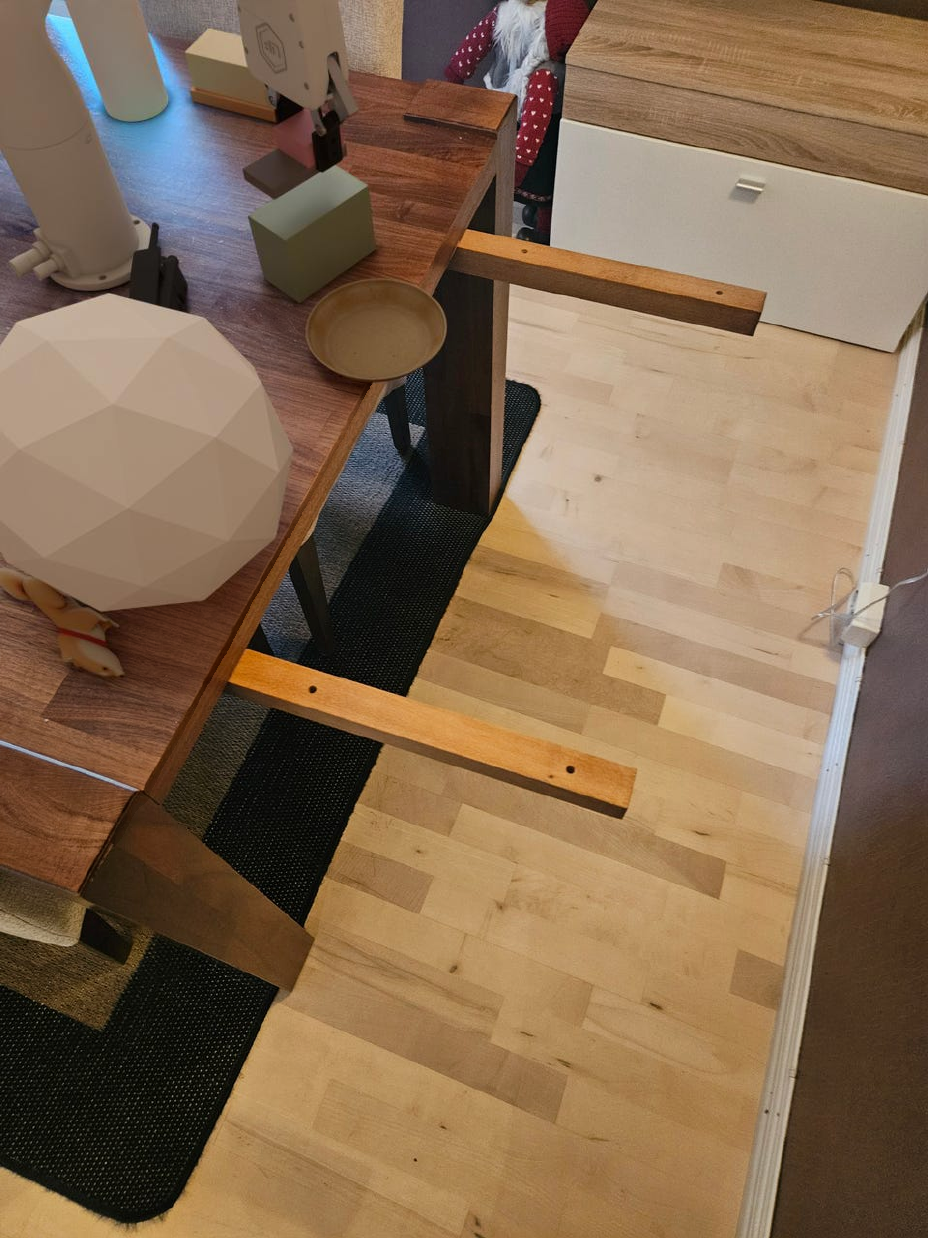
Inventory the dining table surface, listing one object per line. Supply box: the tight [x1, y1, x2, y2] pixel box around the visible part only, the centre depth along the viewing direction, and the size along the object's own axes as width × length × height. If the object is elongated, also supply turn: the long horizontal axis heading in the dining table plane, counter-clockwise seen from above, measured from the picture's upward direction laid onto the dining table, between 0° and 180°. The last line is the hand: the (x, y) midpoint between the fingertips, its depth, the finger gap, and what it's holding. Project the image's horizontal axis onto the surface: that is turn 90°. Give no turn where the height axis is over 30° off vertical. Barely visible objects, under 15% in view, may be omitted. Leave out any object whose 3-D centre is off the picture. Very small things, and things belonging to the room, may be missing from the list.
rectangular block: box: [247, 164, 377, 304], centre depth 93 cm, size 12×6×8 cm, turn 137°
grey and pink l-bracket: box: [241, 109, 348, 200], centre depth 85 cm, size 10×5×3 cm, turn 138°
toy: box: [0, 567, 125, 679], centre depth 73 cm, size 3×17×5 cm
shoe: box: [184, 27, 306, 123], centre depth 109 cm, size 15×7×6 cm, turn 67°
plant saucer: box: [305, 277, 448, 383], centre depth 89 cm, size 15×15×3 cm
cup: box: [64, 0, 169, 122], centre depth 104 cm, size 8×8×16 cm
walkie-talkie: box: [128, 221, 189, 313], centre depth 92 cm, size 6×6×20 cm
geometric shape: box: [0, 292, 294, 612], centre depth 67 cm, size 24×25×25 cm
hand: (311, 152), depth 86 cm, fingers closed on grey and pink l-bracket, 4 cm apart
